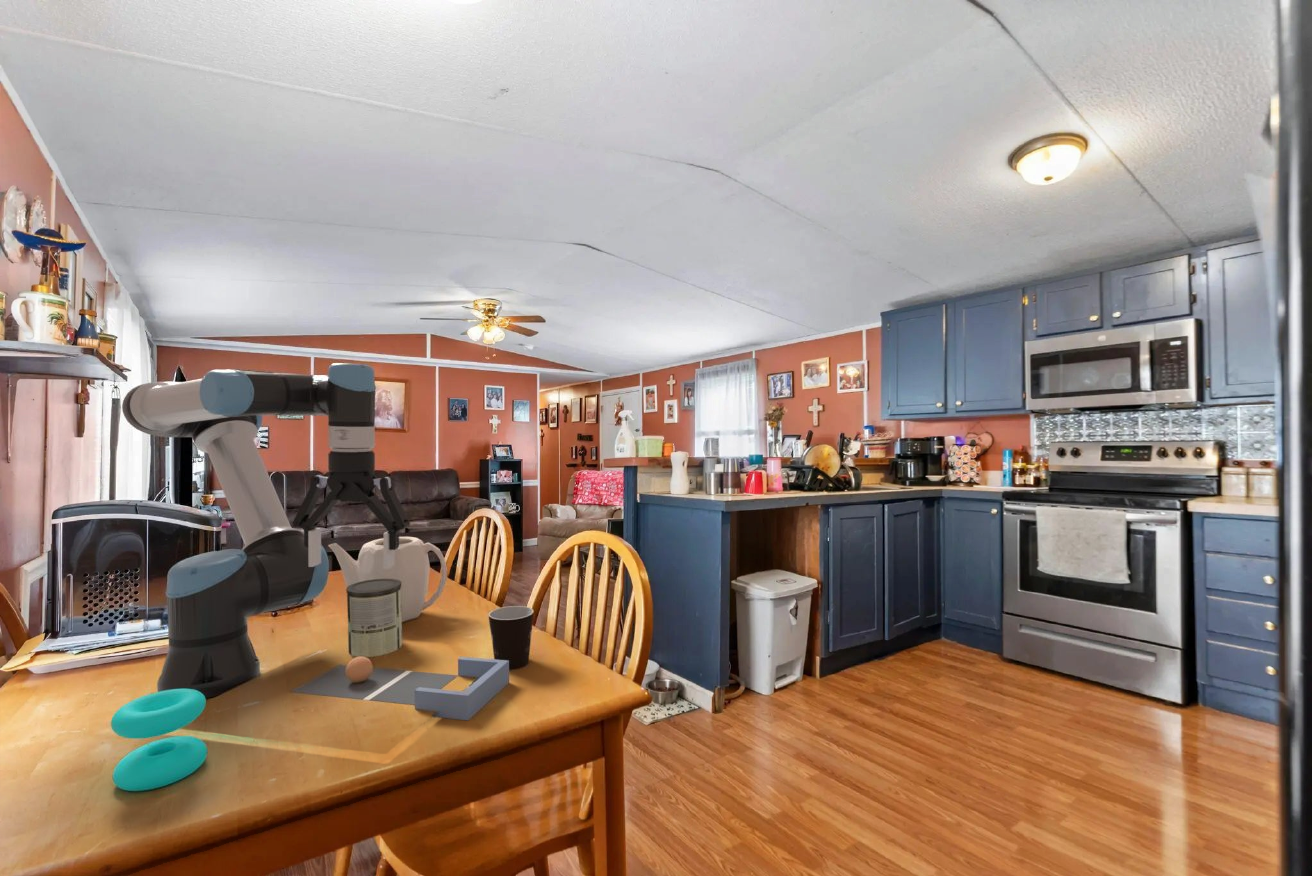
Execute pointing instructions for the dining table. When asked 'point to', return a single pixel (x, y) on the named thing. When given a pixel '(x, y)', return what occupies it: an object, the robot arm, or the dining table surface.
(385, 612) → the coffee can
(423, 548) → the white teapot
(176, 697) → the donuts
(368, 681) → the runway
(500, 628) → the coffee mug
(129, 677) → the dining table surface
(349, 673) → the ball
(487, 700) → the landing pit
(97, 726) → the dining table surface
